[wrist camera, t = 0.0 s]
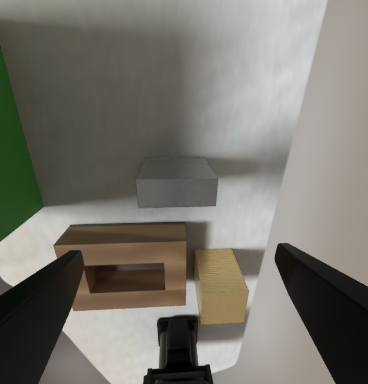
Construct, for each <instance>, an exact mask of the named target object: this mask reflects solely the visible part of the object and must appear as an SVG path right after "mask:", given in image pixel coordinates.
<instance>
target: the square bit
mask: <svg viewBox="0 0 368 384" xmlns="http://www.w3.org/2000/svg"><path fill="white" fill-rule="evenodd" d="M194 280H195V287H196V295H197V302H198V310H199V317H200V325H207V324H226V323H243V322H244V316H245V311H246V305H247V300H248V294H249V290H248V287H247V285H246V283H245V280H244V278H243V275H242V273H241V271H240V268H239V266H238V264H237V261H236V259H235V256H234V254H233V252H232V249H231V248H229V249H201V250H195V267H194Z"/></svg>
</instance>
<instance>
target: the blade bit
mask: <svg viewBox="0 0 368 384" xmlns="http://www.w3.org/2000/svg"><path fill="white" fill-rule="evenodd" d="M217 185H218V178H217V176H216V174H215V173H214V171H213V170H212V168H211V167H210V165H209V163H208V162H207V160H206V159H205V157H193V158H146V159H145V161H144V163H143V165H142V168H141V170H140V172H139V174H138V176H137V178H136V187H137V197H138V208H159V207H201V206H216V198H217Z"/></svg>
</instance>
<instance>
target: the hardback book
mask: <svg viewBox="0 0 368 384" xmlns="http://www.w3.org/2000/svg"><path fill="white" fill-rule="evenodd" d="M42 208H43V204H42V200H41V196H40V193H39V189H38V185H37V181H36V178H35V174H34V170H33V167H32V163H31V159H30V155H29V152H28V148H27V144H26V140H25V137H24V133H23V129H22V126H21V122H20V118H19V114H18V111H17V107H16V103H15V99H14V96H13V92H12V88H11V85H10V81H9V77H8V73H7V70H6V66H5V62H4V59H3V55H2V51H1V47H0V242H1V241H2V240H3V239H4V238H6V237H7V236H8V235H9V234H11V233H12V232H13V231H14V230H16V229H17V228H18V227H19V226H21V225H22V224H23V223H24V222H26V221H27V220H28V219H29V218H31V217H32V216H33V215H34V214H36V213H37V212H38V211H39V210H41V209H42Z"/></svg>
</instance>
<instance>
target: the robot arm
mask: <svg viewBox="0 0 368 384" xmlns="http://www.w3.org/2000/svg"><path fill="white" fill-rule="evenodd" d="M275 263H276V265H277V268H278V270H279V273H280V275H281V278H282V280H283V283H284V285H285V287H286V290H287V292H288V294H289V296H290V298H291V300H292V302H293V304H294V306H295V308H296V309H297V311H298V313H299V315H300V317H301V319H302V321H303V323H304V325H305V327H306V328H307V330H308V332H309V334H310V336H311V338H312V340H313V342H314V344H315V346H316V347H317V349H318V351H319V353H320V355H321V357H322V359H323V361H324V362H325V364H326V366H327V368H328V370H329V372H330V374H331V376H332V378H333V380H334V381H335V383H336V384H368V286H366V285H364V284H362V283H360V282H358V281H357V280H355V279H353V278H351V277H349V276H347V275H346V274H344V273H342V272H340V271H338V270H336V269H334V268H332V267H331V266H329V265H327V264H325V263H323V262H322V261H320V260H318V259H316V258H314V257H312V256H310V255H309V254H307V253H305V252H303V251H301V250H299V249H298V248H296V247H294V246H292V245H290V244H288V243H279V244H278V245H277V249H276V254H275ZM84 268H85V264H84V259H83V255H82V252H81V250H70V251H68V252H67V253H65V254H64V255H62V256H61V257H59V258H57V259H56V260H54V261H53V262H51V263H50V264H48V265H47V266H45V267H44V268H42V269H41V270H39V271H37V272H36V273H34V274H33V275H31V276H30V277H28V278H27V279H25V280H24V281H22V282H20V283H19V284H17V285H16V286H14V287H13V288H11V289H10V290H8V291H7V292H5V293H4V294H2V295H0V384H38V383H39V381H40V379H41V376H42V374H43V372H44V370H45V367H46V365H47V363H48V360H49V358H50V356H51V353H52V351H53V349H54V347H55V344H56V342H57V340H58V337H59V335H60V333H61V331H62V328H63V326H64V324H65V322H66V319H67V317H68V315H69V312H70V310H71V308H72V305H73V303H74V300H75V297H76V294H77V291H78V288H79V284H80V281H81V278H82V275H83V272H84ZM157 328H158V342H159V346H160V355H159V369H152V368H149V369H148V372H147V375H145V376H144V381H143V384H213V380H212V375H211V370H210V365H209V364H208V365H205V366H199V365H198V356H197V346H196V344H197V331H198V318H197V317H185V318H167V319H158V320H157Z"/></svg>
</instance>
